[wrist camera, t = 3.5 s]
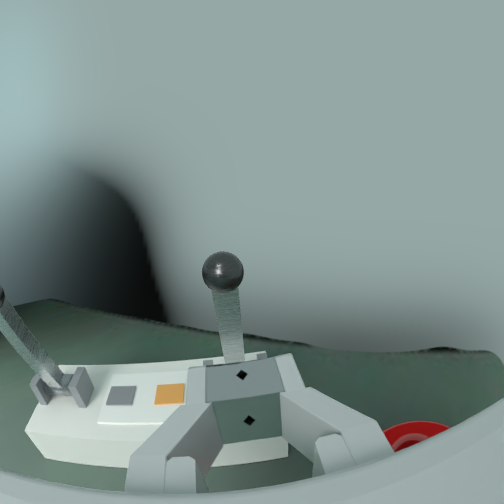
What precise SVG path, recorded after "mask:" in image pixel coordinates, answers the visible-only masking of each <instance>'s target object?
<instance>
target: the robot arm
mask: <svg viewBox="0 0 504 504" xmlns="http://www.w3.org/2000/svg"><path fill="white" fill-rule="evenodd" d="M279 436H282V437H283V438H284V439H285V440H286V441H287V442H289V443H290V444H291V445H292V446H293V447H294V448H296V449H297V450H298V451H299V452H301V453H302V454H303V455H304V456H305V457H307V458H308V459H309V460H310V461H312V462H313V472H312V478H308V479H304V480H299V481H294V482H289V483H284V484H279V485H273V486H266V487H260V488H253V489H245V490H236V491H226V492H213V493H210V492H209V490H208V488H207V486H206V484H205V481H204V479H203V478H204V477H205V475H206V474H207V472H208V471H209V469H210V467H211V466H212V464H213V462H214V461H215V459H216V458H217V456H218V454H219V453H220V451H221V449H222V448H223V444H231V443H238V442H244V441H250V440H252V439H253V440H258V439H266V438H273V437H279ZM0 504H504V398H502V399H501V400H499V401H497V402H496V403H494V404H493V405H491V406H489V407H488V408H486V409H484V410H483V411H481V412H479V413H477V414H476V415H474V416H472V417H470V418H468V419H466V420H465V421H463V422H461V423H459V424H457V425H455V426H453V427H451V428H449V429H447V430H445V431H443V432H441V433H439V434H437V435H435V436H432V437H430V438H428V439H426V440H424V441H421V442H419V443H417V444H414V445H412V446H409V447H407V448H405V449H402V450H400V451H397V452H394V451H393V449H392V447H391V445H390V444H389V442H388V440H387V438H386V437H385V435H384V433H383V432H382V430H381V428H380V426H379V425H378V423H377V421H376V420H374V419H372V418H370V417H368V416H366V415H364V414H362V413H359V412H357V411H356V410H354V409H352V408H350V407H348V406H346V405H344V404H342V403H340V402H338V401H336V400H334V399H332V398H330V397H328V396H327V395H325V394H323V393H321V392H319V391H317V390H315V389H314V388H312V387H308V388H306V387H305V385H304V382H303V380H302V378H301V375H300V373H299V370H298V368H297V365H296V363H295V360H294V358H293V355H292V354H291V353H288V354H283V355H278V356H274V357H270V358H264V359H258V360H251V361H245V362H235V363H226V364H216V365H206V366H196V367H189V369H188V374H187V388H186V404H185V405H180V406H179V407H178V408H177V409H176V410H175V411H174V412H173V413H172V414H171V415H170V416H169V417H168V418H167V419H166V421H165V422H164V423H163V424H162V425H161V426H160V427H159V428H158V429H157V430H156V431H155V432H154V433H153V434H152V435H151V436H150V437H149V438H148V439H147V440H146V441H145V442H144V443H143V444H142V445H141V446H140V447H139V448H138V449H137V450H135V451H134V452H133V453H132V454H131V455H130V460H129V465H128V471H127V477H126V483H125V489H124V492H115V491H105V490H97V489H89V488H82V487H76V486H70V485H64V484H59V483H54V482H49V481H45V480H41V479H36V478H32V477H28V476H25V475H21V474H17V473H14V472H10V471H7V470H4V469H1V468H0Z"/></svg>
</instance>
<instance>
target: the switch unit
mask: <svg viewBox="0 0 504 504" xmlns="http://www.w3.org/2000/svg"><path fill="white" fill-rule="evenodd" d="M244 355H245V361H251V360H258V359H264V358H268V357H267V354H266V351H261V352H254V353H247V354H244ZM216 364H225V360H224V356H223V357H214V358H205V359H194V360H183V361H171V362H157V363H140V364H118V365H59V366H58V367H59V368H60V370H61V371H62V372H63V373H64V374H74V375H73V377H72V379H71V381H70V383H69V385H68V388H69V390H70V392H71V394H72V396H64V395H49V394H47V393H46V392H45V391H44V389H43V385H42V379H41V378H40V377H39V375H38V374H37V373H36V374H35V376H34V377H33V379H32V381H31V382H30V384H29V385H30V387H31V388H32V390H33V392H34V394H35V395H36V397H37V399H38V401H39V403H38V405H37V407H36V409H35V411H34V413H33V415H32V417H31V419H30V421H29V423H28V425H27V427H26V429H25V432H26V433H27V435H28V436H29V437H30V439H31V440H32V441H33V443H34V444H35V445H36V447H37V448H38V449H39V451H40V452H41V453H42V454H43V456H44V457H45V458H47V459H53V460H59V461H65V462H72V463H79V464H87V465H96V466H107V467H121V468H128V465H129V460H130V455H131V454H132V453H133V452H134V451H135V450H137V449H138V448H139V447H140V446H141V445H142V444H143V443H144V442H145V441H146V440H147V439H148V438H149V437H150V436H151V435H152V434H153V433H154V432H155V431H156V430H157V429H158V428H159V427H160V426H161V425H162V424H163V423H164V422H165V421H166V419H167V418H168V417H169V416H170V415H171V414H172V413H173V412H174V411H175V410H176V409H177V408H178V407H179V406H180V405H185V404H186V388H187V374H188V369H189V367H196V366H206V365H216ZM284 457H288V442H287V441H286V440H285V439H284V438H283V437H282V436H279V437H273V438H266V439H258V440H253V439H252V440H250V441H244V442H238V443H231V444H223V448H222V449H221V451H220V453H219V454H218V456H217V458H216V459H215V461H214V462H213V464H212V466H211V467H216V466H227V465H237V464H245V463H253V462H260V461H266V460H273V459H279V458H284Z"/></svg>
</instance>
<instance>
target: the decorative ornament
mask: <svg viewBox="0 0 504 504" xmlns="http://www.w3.org/2000/svg"><path fill="white" fill-rule="evenodd" d="M449 428H451V427H449V426H446V425H444V424H440V423H437V422H431V421H410V422H404V423H400V424H397V425H394V426H392V427H389V428H387V429H385V430H383V431H382V432H383V433H384V435H385V437H386V438H387V440H388V442H389V444H390V445H391V447H392V449H393V451H394V452H397V451H400V450H402V449H405V448H407V447H409V446H412V445H414V444H417V443H419V442H421V441H424V440H426V439H428V438H430V437H432V436H435V435H437V434H439V433H441V432H443V431H445V430H447V429H449Z"/></svg>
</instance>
